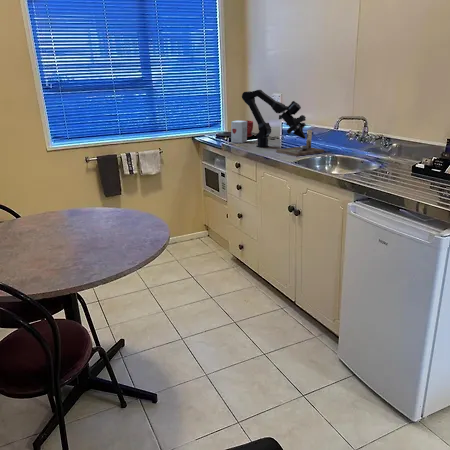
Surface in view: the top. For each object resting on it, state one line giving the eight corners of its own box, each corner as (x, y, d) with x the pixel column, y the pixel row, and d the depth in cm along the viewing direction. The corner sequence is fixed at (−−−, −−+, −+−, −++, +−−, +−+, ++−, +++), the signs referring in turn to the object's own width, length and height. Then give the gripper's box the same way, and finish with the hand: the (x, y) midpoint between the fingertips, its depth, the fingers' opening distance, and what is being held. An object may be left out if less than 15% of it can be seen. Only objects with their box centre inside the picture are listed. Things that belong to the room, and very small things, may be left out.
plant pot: (233, 136, 341) (233, 120, 337) (248, 135, 346) (248, 120, 342) (241, 138, 330) (241, 122, 326) (255, 137, 335) (256, 121, 331)
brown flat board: (295, 156, 254) (295, 153, 254) (276, 152, 269) (276, 149, 268) (324, 152, 267) (324, 149, 266) (304, 148, 281) (304, 145, 280)
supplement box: (230, 142, 310) (230, 121, 305) (236, 140, 317) (236, 120, 312) (242, 143, 306) (242, 121, 301) (247, 141, 313) (247, 120, 308)
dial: (301, 151, 257) (302, 133, 253) (294, 151, 259) (295, 132, 255) (312, 147, 272) (313, 130, 268) (306, 146, 274) (307, 129, 270)
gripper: (292, 112, 261) (308, 131, 259) (303, 109, 276) (319, 128, 274) (280, 124, 268) (295, 143, 266) (292, 121, 283) (307, 139, 281)
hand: (304, 138), depth 271 cm, fingers closed
